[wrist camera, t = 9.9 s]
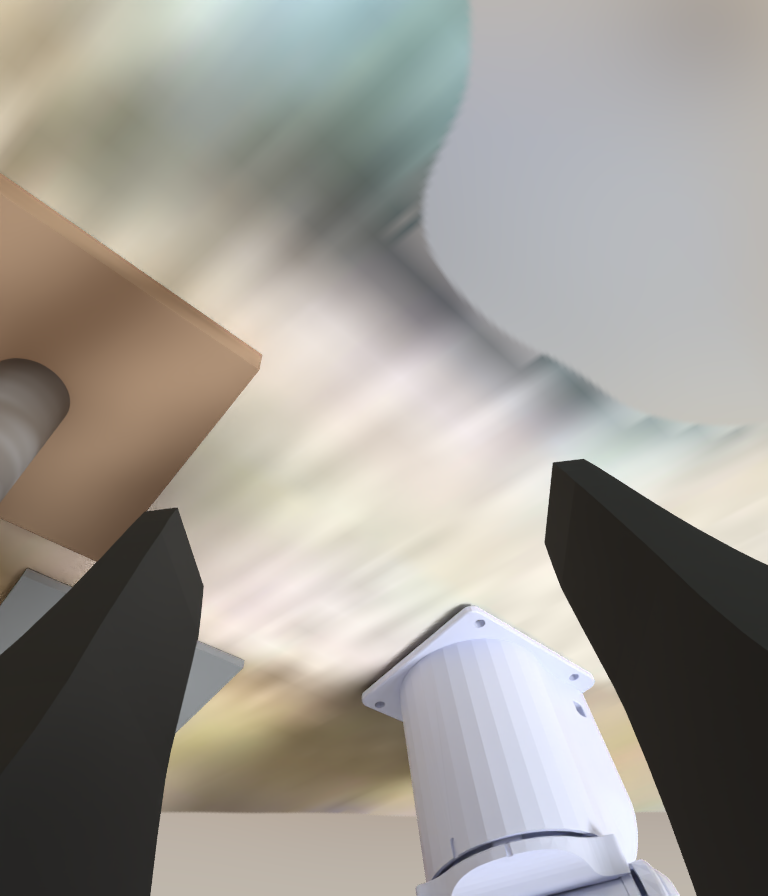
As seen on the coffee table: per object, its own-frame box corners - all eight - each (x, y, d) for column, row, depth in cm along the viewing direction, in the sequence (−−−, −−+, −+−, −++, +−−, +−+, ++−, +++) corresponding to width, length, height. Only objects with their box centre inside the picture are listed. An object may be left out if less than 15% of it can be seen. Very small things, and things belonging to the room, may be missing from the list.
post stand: (262, 354, 19) (244, 450, 14) (113, 543, 22) (54, 675, 17) (-63, 129, 15) (-257, 148, 10) (-185, 402, 18) (-377, 522, 13)
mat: (244, 660, 27) (243, 667, 26) (135, 766, 30) (133, 773, 30) (26, 568, 23) (22, 575, 22) (-71, 703, 26) (-76, 710, 26)
